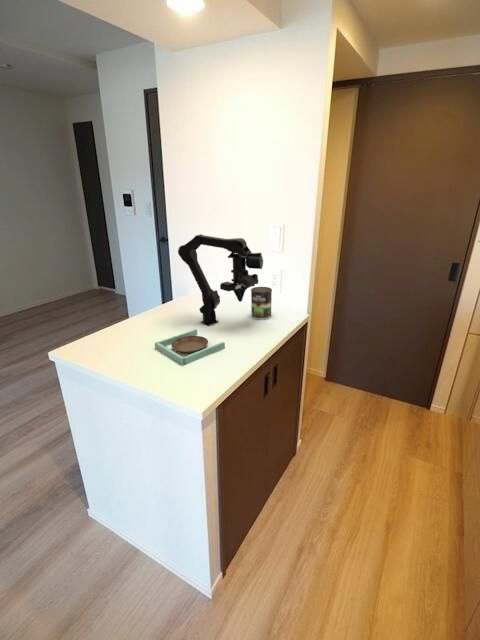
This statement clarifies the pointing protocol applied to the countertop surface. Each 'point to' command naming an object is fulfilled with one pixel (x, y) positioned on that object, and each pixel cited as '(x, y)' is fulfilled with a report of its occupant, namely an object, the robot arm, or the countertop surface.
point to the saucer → (189, 344)
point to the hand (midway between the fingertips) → (240, 301)
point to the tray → (189, 358)
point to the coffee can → (261, 302)
